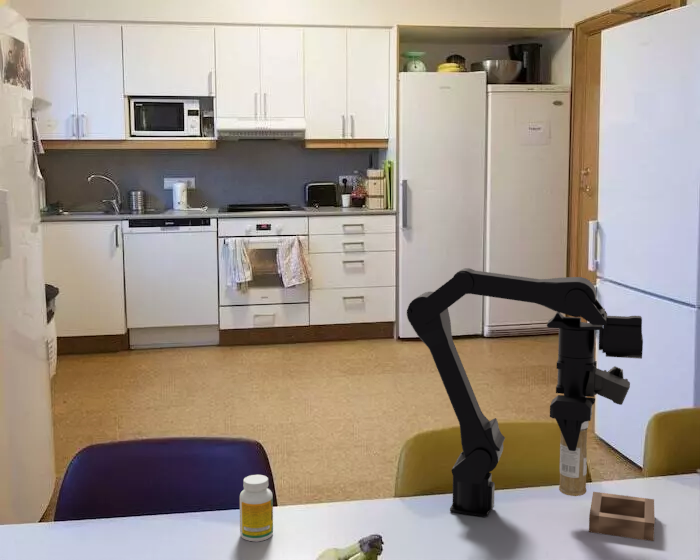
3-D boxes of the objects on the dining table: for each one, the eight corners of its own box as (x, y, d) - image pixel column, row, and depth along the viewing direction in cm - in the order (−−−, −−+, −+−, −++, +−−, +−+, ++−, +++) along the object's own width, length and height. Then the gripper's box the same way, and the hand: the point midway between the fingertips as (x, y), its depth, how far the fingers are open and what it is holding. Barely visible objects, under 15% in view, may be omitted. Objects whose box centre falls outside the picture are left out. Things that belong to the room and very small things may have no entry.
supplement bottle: (236, 531, 134) (234, 476, 133) (266, 525, 137) (265, 470, 135) (246, 545, 130) (245, 487, 128) (278, 538, 132) (277, 481, 130)
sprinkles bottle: (592, 493, 137) (594, 415, 135) (573, 499, 134) (575, 420, 132) (571, 484, 140) (573, 408, 138) (552, 490, 138) (554, 413, 136)
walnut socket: (588, 532, 134) (589, 514, 133) (592, 507, 143) (593, 491, 142) (653, 541, 130) (654, 523, 130) (653, 516, 140) (654, 499, 139)
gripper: (626, 372, 122) (622, 471, 125) (629, 346, 140) (625, 433, 142) (550, 366, 126) (548, 463, 128) (562, 341, 144) (560, 427, 146)
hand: (573, 446), depth 136 cm, fingers closed on sprinkles bottle, 4 cm apart
